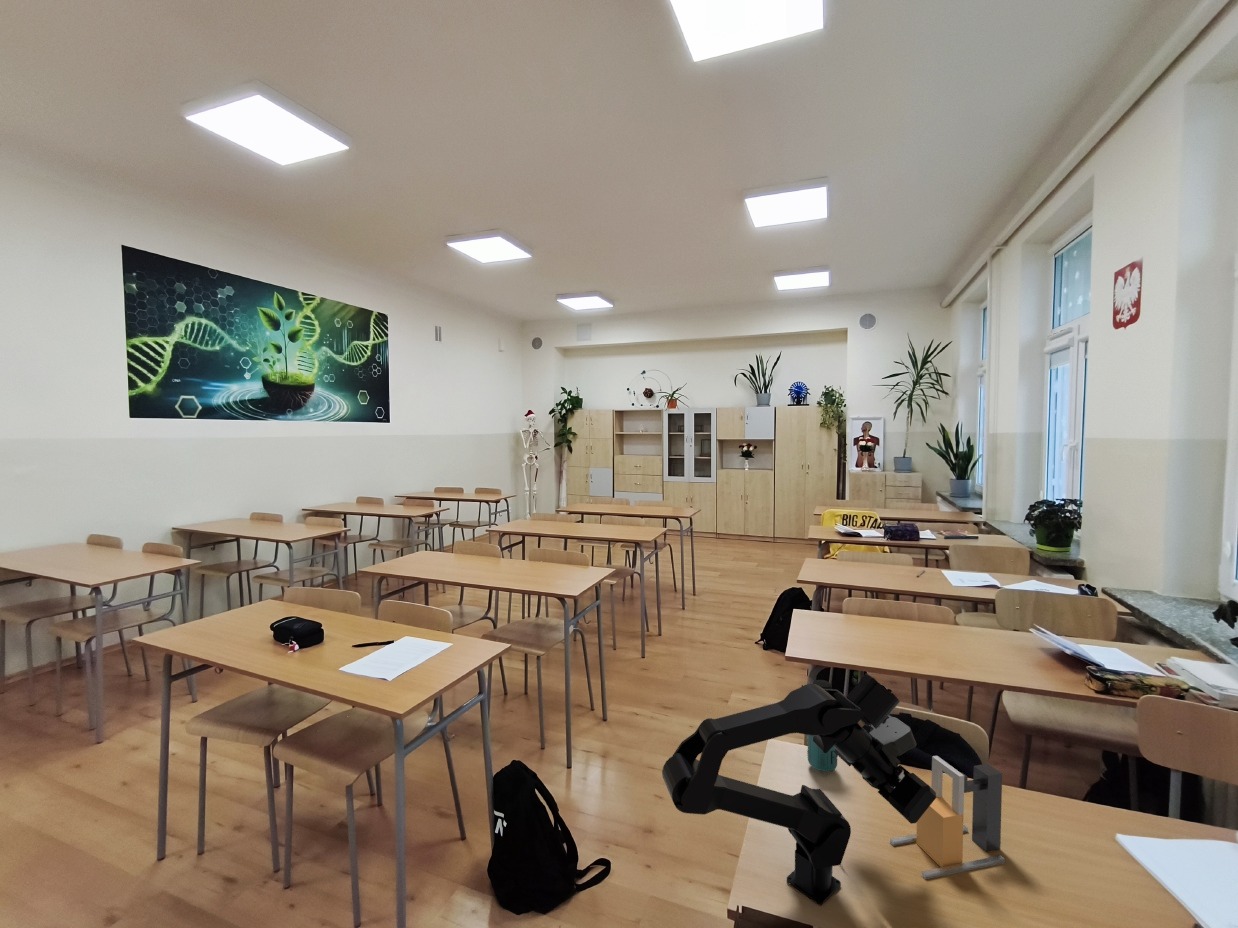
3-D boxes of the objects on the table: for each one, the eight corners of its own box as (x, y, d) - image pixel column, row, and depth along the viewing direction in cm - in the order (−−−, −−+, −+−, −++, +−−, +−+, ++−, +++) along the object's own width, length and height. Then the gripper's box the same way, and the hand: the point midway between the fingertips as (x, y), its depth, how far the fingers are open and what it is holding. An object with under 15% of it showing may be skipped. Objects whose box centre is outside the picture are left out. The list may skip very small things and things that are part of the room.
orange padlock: (942, 868, 93) (944, 778, 92) (916, 843, 99) (917, 758, 98) (962, 864, 94) (964, 775, 93) (935, 839, 99) (936, 755, 99)
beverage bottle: (833, 782, 118) (833, 692, 117) (802, 771, 122) (803, 683, 121) (841, 767, 123) (842, 681, 122) (811, 757, 127) (812, 673, 126)
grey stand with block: (928, 889, 90) (930, 801, 89) (886, 845, 100) (888, 765, 99) (1018, 870, 94) (1020, 785, 93) (969, 829, 103) (971, 752, 103)
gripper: (928, 737, 83) (984, 797, 86) (851, 683, 102) (900, 735, 104) (881, 793, 82) (940, 853, 85) (812, 729, 100) (862, 780, 103)
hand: (909, 799), depth 94 cm, fingers closed
